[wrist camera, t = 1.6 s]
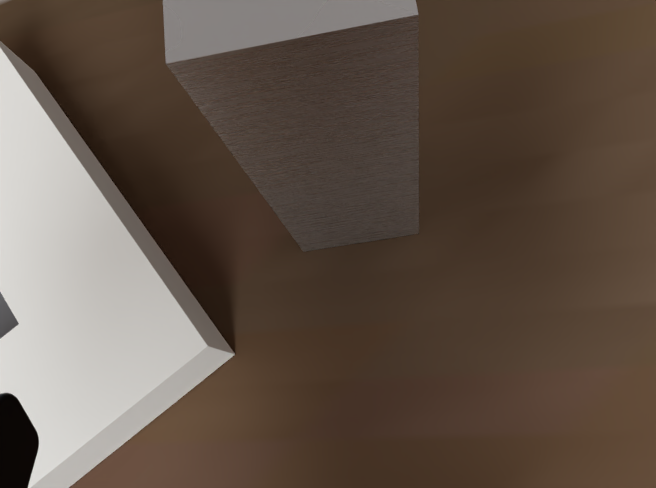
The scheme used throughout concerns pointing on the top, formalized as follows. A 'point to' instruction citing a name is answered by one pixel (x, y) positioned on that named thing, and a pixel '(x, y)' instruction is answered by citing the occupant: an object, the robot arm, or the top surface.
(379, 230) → the grey square peg
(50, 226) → the socket plate
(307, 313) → the top surface
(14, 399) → the robot arm
